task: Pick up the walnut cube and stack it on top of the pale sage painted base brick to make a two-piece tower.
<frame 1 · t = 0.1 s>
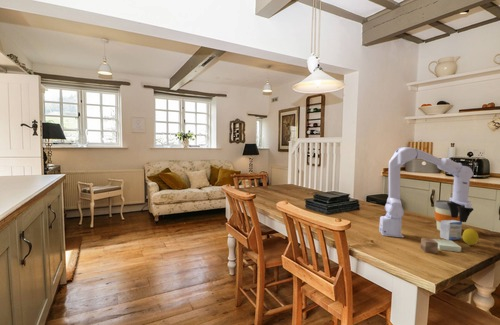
hand: (458, 219, 121), 10 cm above the table, tool pointing down, fingers open, 7 cm apart
walnut cube: (428, 250, 109), on the table
base brick: (445, 248, 113), on the table
reusable coffee cup: (447, 230, 137), on the table
medicine box: (450, 238, 124), on the table
lemon: (469, 246, 115), on the table
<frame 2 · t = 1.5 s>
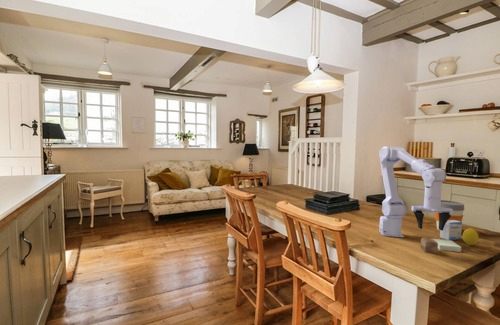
hand: (430, 228, 108), 9 cm above the table, tool pointing down, fingers open, 7 cm apart
nothing on the table moved.
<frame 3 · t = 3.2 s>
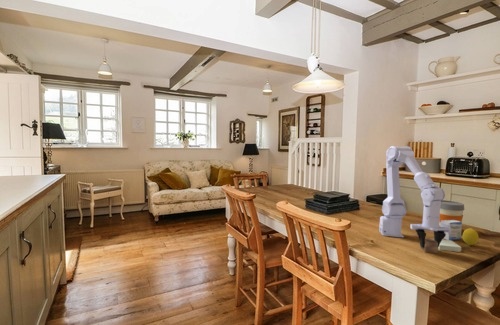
hand: (428, 247, 109), 1 cm above the table, tool pointing down, fingers closed on walnut cube, 4 cm apart
walnut cube: (428, 250, 109), on the table, touching gripper
everything else where it was.
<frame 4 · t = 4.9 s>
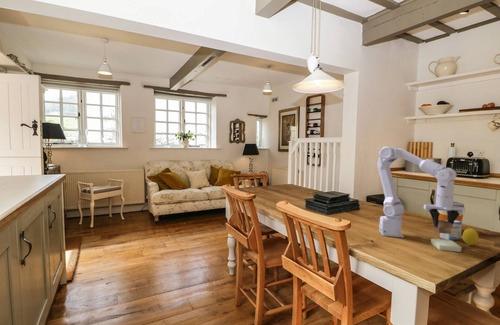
hand: (442, 227, 111), 9 cm above the table, tool pointing down, fingers closed on walnut cube, 4 cm apart
walnut cube: (442, 231, 111), point 7 cm above the table, touching gripper
everything else where it was.
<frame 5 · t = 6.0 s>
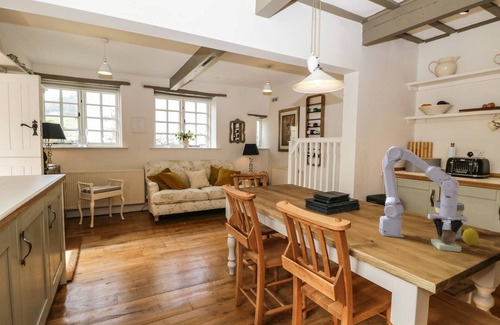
hand: (446, 236, 113), 5 cm above the table, tool pointing down, fingers closed on walnut cube, 4 cm apart
walnut cube: (446, 240, 112), point 3 cm above the table, touching gripper
everything else where it was.
when the fingers open (5 cm above the table, at t = 6.8 s): walnut cube stays where it is, point 2 cm above the table.
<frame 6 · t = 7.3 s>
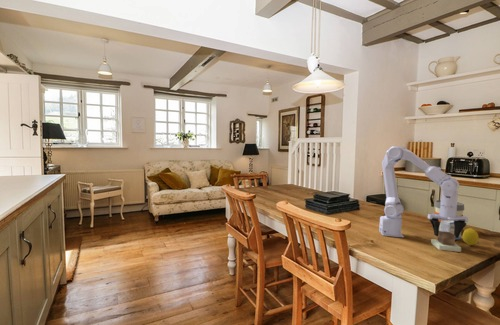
hand: (446, 236, 113), 5 cm above the table, tool pointing down, fingers open, 7 cm apart
walnut cube: (445, 243, 113), point 2 cm above the table
everything else where it was.
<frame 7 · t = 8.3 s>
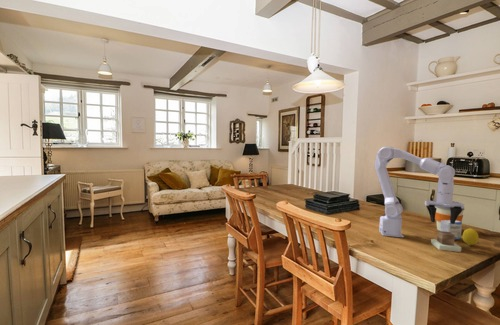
hand: (442, 222, 115), 10 cm above the table, tool pointing down, fingers open, 7 cm apart
walnut cube: (445, 243, 113), point 2 cm above the table, touching base brick
base brick: (445, 248, 113), on the table, touching walnut cube
everything else where it was.
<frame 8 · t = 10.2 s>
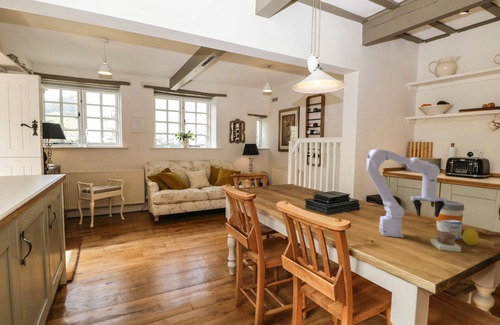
hand: (427, 216, 125), 10 cm above the table, tool pointing down, fingers open, 7 cm apart
nothing on the table moved.
at the end: walnut cube inside the target area on the base brick (0.3 cm from its centre), point 2.5 cm above the base brick's base; walnut cube tilted 0°; the gripper is holding nothing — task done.
